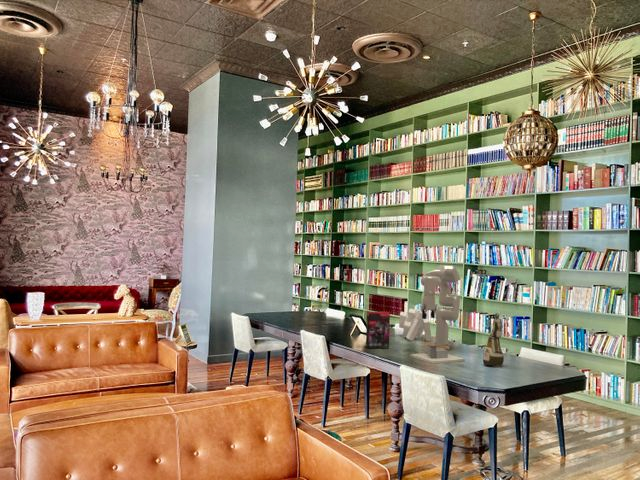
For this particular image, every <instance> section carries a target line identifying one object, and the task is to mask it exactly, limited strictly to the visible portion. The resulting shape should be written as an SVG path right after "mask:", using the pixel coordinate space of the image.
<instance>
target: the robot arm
mask: <svg viewBox="0 0 640 480" xmlns="http://www.w3.org/2000/svg"><path fill="white" fill-rule="evenodd" d="M459 280H460V274H459V272H458V270H457V268H456V267H455V266H454V265H451V264H450V265H449V264H448V265H447V264H440V265H438V266H437V267H436V268H435V269H434V270H431V271H427V272H425V273H424V274H423V275H422V276H421V278H420V284H421V285H422V286H423V296H422V301H421V306H420V309H421V311H422V319H426V318H427V314H426V312H428V311H430V318H431V319H435V342H434V344H436V345H445V344H448V346H449V348H448V351H449V350H450V349H451V347H452V346H453V344H454V343H452V342H450V343H449V327H450V326H449V324H448V322H450V321H451V322H456V321H458V319H459V315H460V305H461V304H460V303H461V300H460V297H459V295H457V294H451V293H452V292H451V291H452V288H451V286H450V284H449V283H452V284H456V283H458V282H459ZM438 287H439V294H438V295H439V297H438V304H439V305H440V306H442V307H438V305H436V295H435V294H436V288H438ZM424 310H425V311H424ZM447 321H448V322H447ZM436 348H438V347H436ZM441 349H445V348H441Z"/></svg>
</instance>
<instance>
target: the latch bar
mask: <svg viewBox="0 0 640 480" xmlns="http://www.w3.org/2000/svg"><path fill="white" fill-rule="evenodd" d="M428 345H434V346H436V347H438V348H446V349H448V348H449V347H450V346H448V344H445V345H436V344H435V343H426V342H425V343H423V347H428Z"/></svg>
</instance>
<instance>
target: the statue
mask: <svg viewBox="0 0 640 480" xmlns="http://www.w3.org/2000/svg"><path fill="white" fill-rule="evenodd" d="M492 321H493V322H492V325H493V326H492V329H491V332H490V334H489V336H488V338H487V341H486V346H485V348H484V349H483V354H482V362H483V365H484V366H487V367H488V366H492V367H493V366H501V365H503V364H504V359H505V357H504V354H503V351H502V347H501V341H500V338H501V337H502V335H503V333H502V332H503V329H502V328H503V320H502V318H500V314H499V313H498V312H497V313H496V312H495V314H494V319H493V320H492Z"/></svg>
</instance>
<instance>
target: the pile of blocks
mask: <svg viewBox="0 0 640 480" xmlns="http://www.w3.org/2000/svg"><path fill="white" fill-rule="evenodd" d="M424 311H425V310H424ZM427 312H428V311H427ZM427 312H426V315H427ZM398 327H399V328H400V329H403V332H402V335H404V336H405V338H406V339H408V340H409V341H412V342H413V341H414V340H415V338H417V337H418V338H421V335H422V334H423V332H424V336H425V340H426V342H429V341H432V340H433V339H432V331H431V326H430V321H429V319H428V318H427V317H426V319H422V311H421V308H420V309H419V308H416V309H414V308H409V310H408V312H404V311H400V313H399V321H398Z"/></svg>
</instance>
